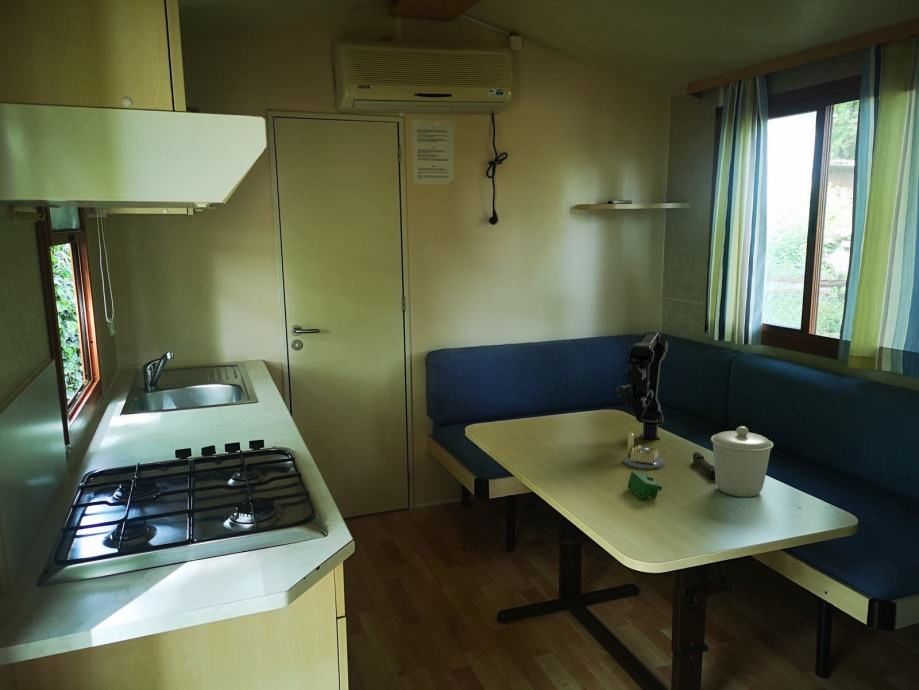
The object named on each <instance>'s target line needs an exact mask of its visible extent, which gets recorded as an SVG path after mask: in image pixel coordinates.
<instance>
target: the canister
mask: <svg viewBox="0 0 919 690" xmlns="http://www.w3.org/2000/svg"><path fill="white" fill-rule="evenodd" d="M710 440H711V442H712V447H713V466H714V468H715V479H716V481H715V484H716V486H717V488H718V489H719V491H721V492H722V493H724V494H727V495H729V496H734V497H739V498H750V497H755V496H757V495H760V493H761V492H762V490H763V487H764V485H765V484H764V483H765V479H766V476H767V470H768V467H769V466H768V465H769V460H770V454H771V450H772V448H774V442H773V441H771V440H770V439H768V438H767V437H765V436H763V435H761V434H757V433H754V432H749V428H747V426H743V425H740V426H738V427H736V430H727V431H722V432H718V433H716V434H713V435H712V436H711V437H710Z"/></svg>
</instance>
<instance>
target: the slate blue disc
mask: <svg viewBox="0 0 919 690" xmlns="http://www.w3.org/2000/svg"><path fill="white" fill-rule="evenodd" d="M647 450H650V447H648V446H642V447H640V448H639V452H641V453H647ZM623 464H624V465H626V466H627V467H631V468H633V469H637V468H638V469H637V470H644V469H654V470H660V469H663V468H664V467H665V466H666V465H665V464H666V461H665V460H664V459H663V458H661V457H659V456H658V458H657V460H656V461H655V463H654V464H650V463H643V462H636V461H630V458H628V457H627V455H626V456H625V457H624V458H623Z"/></svg>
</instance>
